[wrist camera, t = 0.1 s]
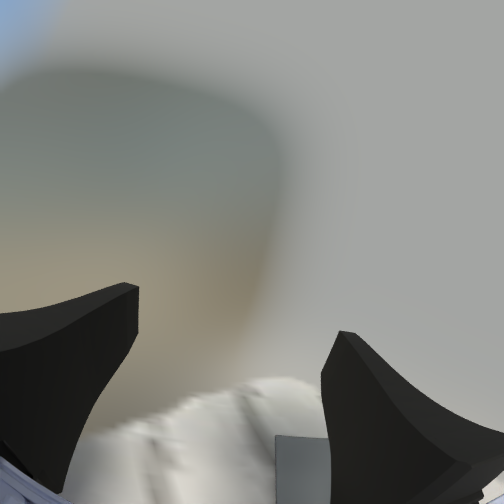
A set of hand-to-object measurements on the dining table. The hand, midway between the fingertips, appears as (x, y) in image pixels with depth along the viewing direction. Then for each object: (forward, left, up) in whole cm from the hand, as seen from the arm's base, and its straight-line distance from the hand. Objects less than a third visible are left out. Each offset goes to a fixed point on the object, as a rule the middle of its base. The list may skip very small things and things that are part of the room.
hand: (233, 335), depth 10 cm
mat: (+7, -14, -22) cm, 27 cm away
